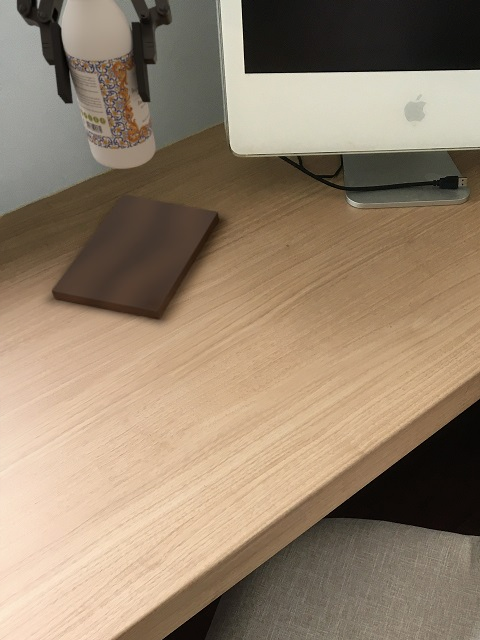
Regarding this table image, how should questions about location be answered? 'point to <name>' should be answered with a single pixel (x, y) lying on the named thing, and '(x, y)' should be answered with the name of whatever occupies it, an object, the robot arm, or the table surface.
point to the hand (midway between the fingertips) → (105, 98)
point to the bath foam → (107, 83)
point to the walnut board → (137, 256)
